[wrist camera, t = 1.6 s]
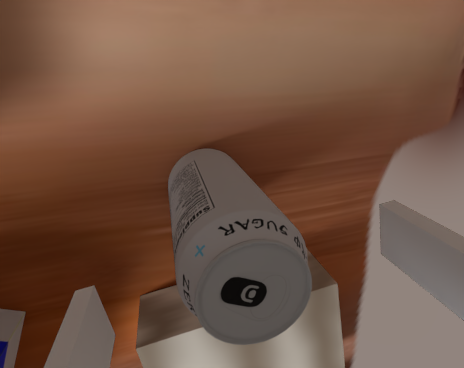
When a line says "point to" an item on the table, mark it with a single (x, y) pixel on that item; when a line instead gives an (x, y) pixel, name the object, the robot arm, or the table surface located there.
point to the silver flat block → (242, 356)
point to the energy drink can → (234, 251)
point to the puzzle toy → (10, 336)
